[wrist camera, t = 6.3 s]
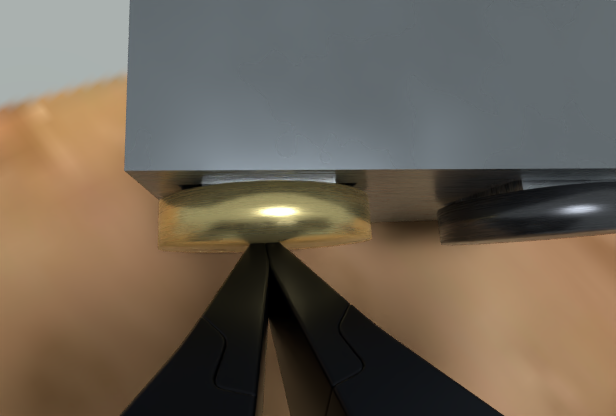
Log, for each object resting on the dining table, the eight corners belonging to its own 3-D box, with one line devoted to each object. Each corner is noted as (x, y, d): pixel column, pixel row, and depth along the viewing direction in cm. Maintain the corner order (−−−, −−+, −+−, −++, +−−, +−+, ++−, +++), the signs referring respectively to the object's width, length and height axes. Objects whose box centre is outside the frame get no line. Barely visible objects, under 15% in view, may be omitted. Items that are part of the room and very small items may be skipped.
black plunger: (538, 241, 15) (717, 223, 10) (411, 247, 14) (526, 230, 9) (520, 128, 16) (673, 49, 10) (399, 126, 15) (495, 36, 9)
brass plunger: (340, 247, 14) (410, 230, 8) (179, 255, 13) (125, 241, 7) (331, 122, 15) (388, 24, 9) (180, 119, 14) (132, 5, 8)
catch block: (483, 218, 19) (713, 167, 10) (192, 228, 16) (124, 170, 7) (470, 130, 20) (671, 6, 11) (192, 125, 17) (131, -49, 8)
